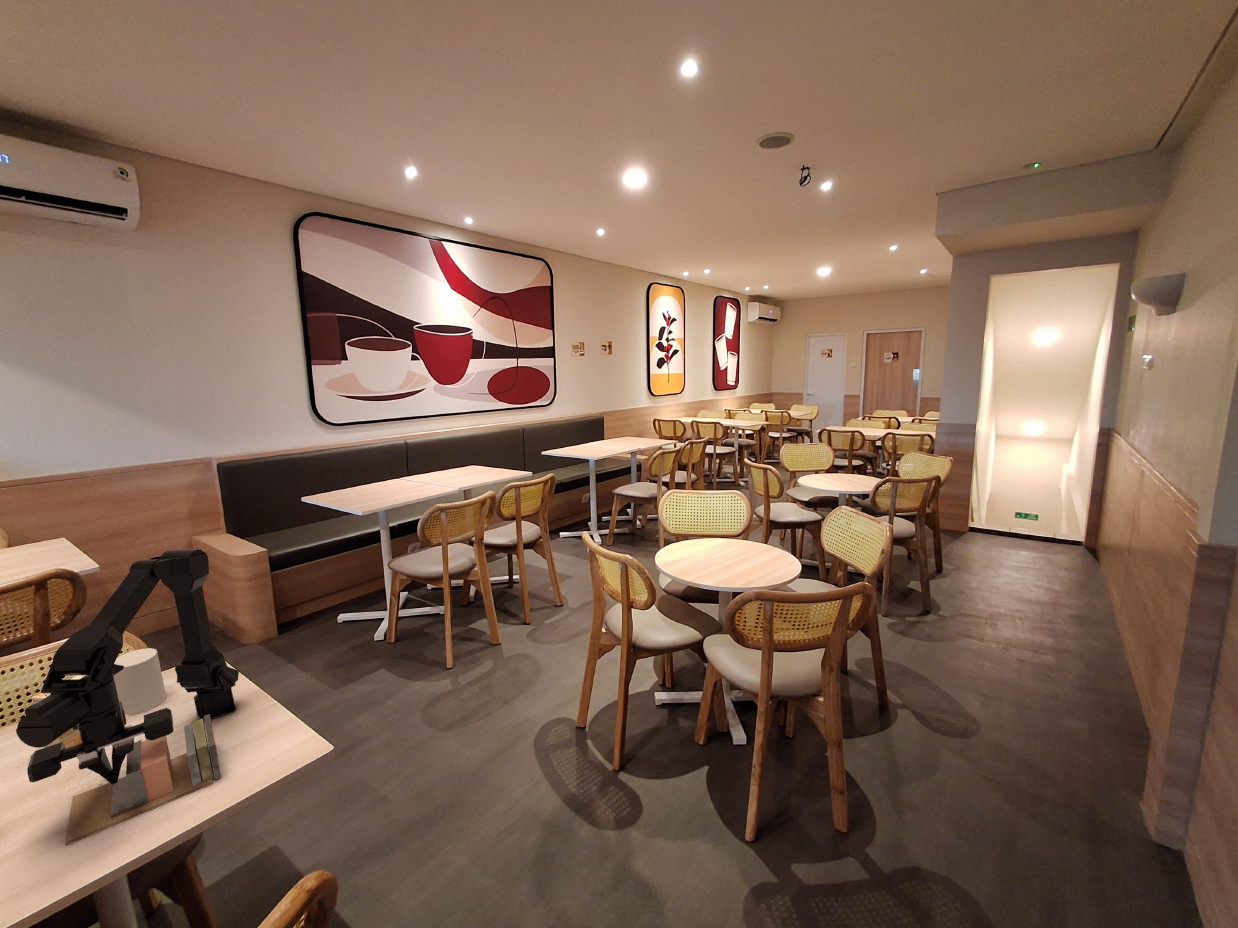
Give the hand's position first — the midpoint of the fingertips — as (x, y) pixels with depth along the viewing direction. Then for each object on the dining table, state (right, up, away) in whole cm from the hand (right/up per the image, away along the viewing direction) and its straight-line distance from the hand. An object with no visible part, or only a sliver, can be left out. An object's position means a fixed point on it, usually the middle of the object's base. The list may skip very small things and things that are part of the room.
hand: (115, 782), depth 100 cm
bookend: (+1, -3, +2) cm, 4 cm away
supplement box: (-24, -1, +17) cm, 29 cm away
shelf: (+3, -3, +3) cm, 6 cm away
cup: (-20, +1, +29) cm, 35 cm away
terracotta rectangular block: (+5, -2, +4) cm, 7 cm away
